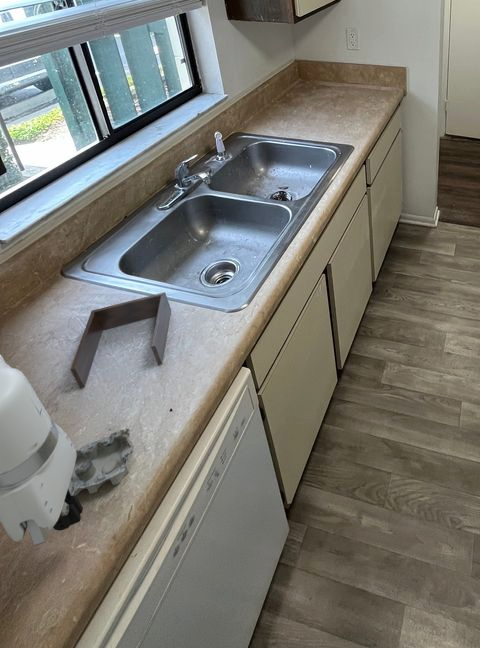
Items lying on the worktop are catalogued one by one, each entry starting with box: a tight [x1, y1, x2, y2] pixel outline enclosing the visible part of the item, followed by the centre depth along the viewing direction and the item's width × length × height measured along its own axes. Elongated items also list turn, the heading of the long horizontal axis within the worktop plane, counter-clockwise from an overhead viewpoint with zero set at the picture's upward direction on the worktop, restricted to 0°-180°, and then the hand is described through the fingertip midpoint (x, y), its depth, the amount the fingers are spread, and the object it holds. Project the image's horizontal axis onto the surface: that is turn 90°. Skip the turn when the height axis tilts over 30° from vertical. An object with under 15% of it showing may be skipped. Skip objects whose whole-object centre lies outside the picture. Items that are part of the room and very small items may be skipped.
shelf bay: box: [70, 291, 172, 389], centre depth 96 cm, size 15×15×6 cm
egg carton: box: [71, 428, 135, 497], centre depth 75 cm, size 11×8×4 cm
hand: (69, 519), depth 65 cm, fingers closed
